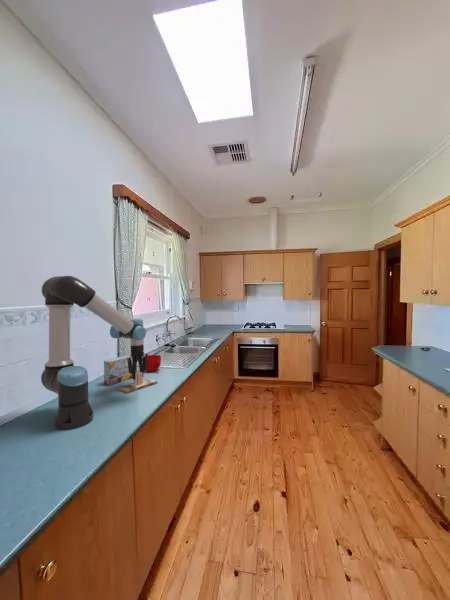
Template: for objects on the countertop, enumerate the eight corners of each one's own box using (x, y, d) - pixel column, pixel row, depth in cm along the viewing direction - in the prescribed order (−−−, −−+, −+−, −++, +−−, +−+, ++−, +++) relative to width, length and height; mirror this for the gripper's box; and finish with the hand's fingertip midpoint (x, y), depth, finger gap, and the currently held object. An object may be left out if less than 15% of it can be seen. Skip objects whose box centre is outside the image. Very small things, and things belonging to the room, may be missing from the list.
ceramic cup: (151, 376, 183) (151, 361, 183) (139, 371, 195) (138, 357, 194) (168, 371, 192) (167, 357, 192) (154, 367, 204) (154, 354, 204)
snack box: (109, 386, 164) (108, 361, 164) (103, 384, 167) (103, 360, 167) (137, 376, 182) (137, 354, 182) (132, 375, 185) (131, 353, 185)
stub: (137, 387, 158) (136, 375, 157) (129, 384, 163) (129, 372, 162) (146, 384, 163) (146, 372, 162) (138, 381, 168) (138, 370, 168)
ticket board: (126, 393, 152) (126, 390, 152) (118, 390, 158) (118, 387, 158) (157, 383, 168) (157, 380, 168) (148, 380, 174) (148, 378, 174)
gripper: (144, 341, 170) (145, 378, 171) (121, 346, 158) (122, 385, 159) (152, 343, 166) (153, 381, 167) (128, 347, 153) (129, 388, 154)
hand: (138, 383), depth 163 cm, fingers closed on stub, 3 cm apart
